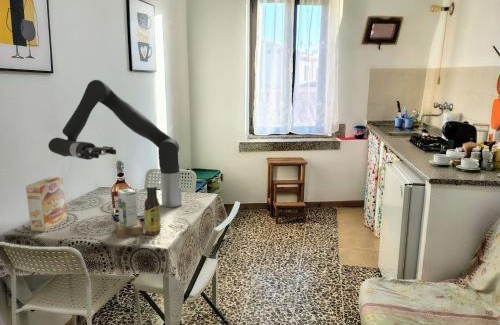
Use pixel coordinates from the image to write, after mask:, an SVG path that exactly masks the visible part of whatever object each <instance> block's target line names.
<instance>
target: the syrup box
mask: <svg viewBox="0 0 500 325" xmlns="http://www.w3.org/2000/svg"><path fill="white" fill-rule="evenodd" d="M117 202H118V203H117V205H118V218H119V221H118V222H120V224H121V225H122V226H124V227H129V226H133V225H136V224H138V222H137V219H138V207H137V206H138V204H137V191H135V190H134V189H131V188H123V189H119V190H117Z"/></svg>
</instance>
